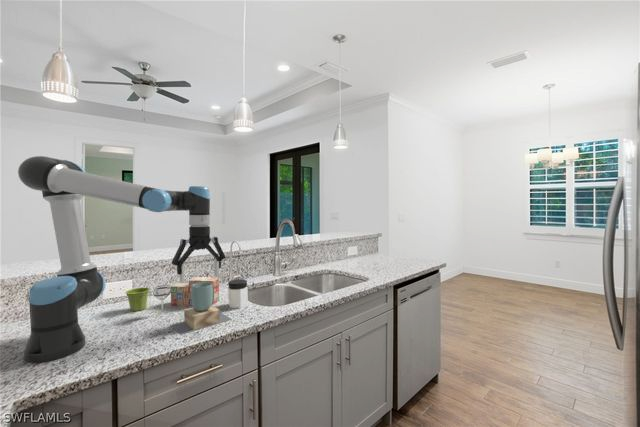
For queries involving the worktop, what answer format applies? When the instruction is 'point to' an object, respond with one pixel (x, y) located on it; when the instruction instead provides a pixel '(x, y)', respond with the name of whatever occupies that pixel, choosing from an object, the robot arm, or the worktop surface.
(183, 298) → the stack of blocks
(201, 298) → the cup
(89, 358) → the worktop surface
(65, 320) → the robot arm
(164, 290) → the wineglass
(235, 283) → the jar
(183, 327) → the base board
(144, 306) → the plant pot
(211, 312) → the oak riser
